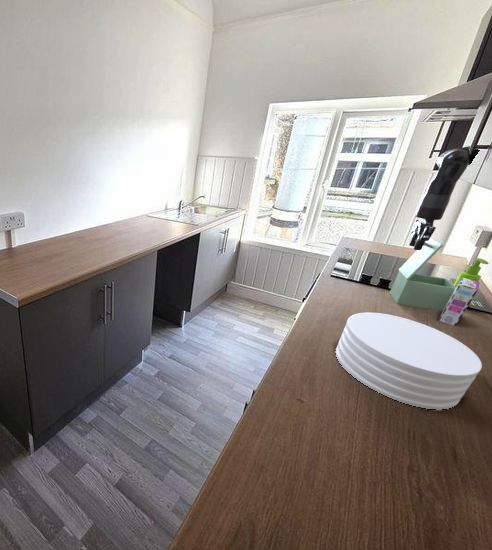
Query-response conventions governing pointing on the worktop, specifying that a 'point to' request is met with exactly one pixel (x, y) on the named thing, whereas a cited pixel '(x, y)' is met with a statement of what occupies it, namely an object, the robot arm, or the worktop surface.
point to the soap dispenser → (471, 271)
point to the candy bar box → (459, 301)
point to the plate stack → (407, 360)
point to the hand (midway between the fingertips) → (414, 247)
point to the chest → (422, 291)
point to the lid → (420, 257)
